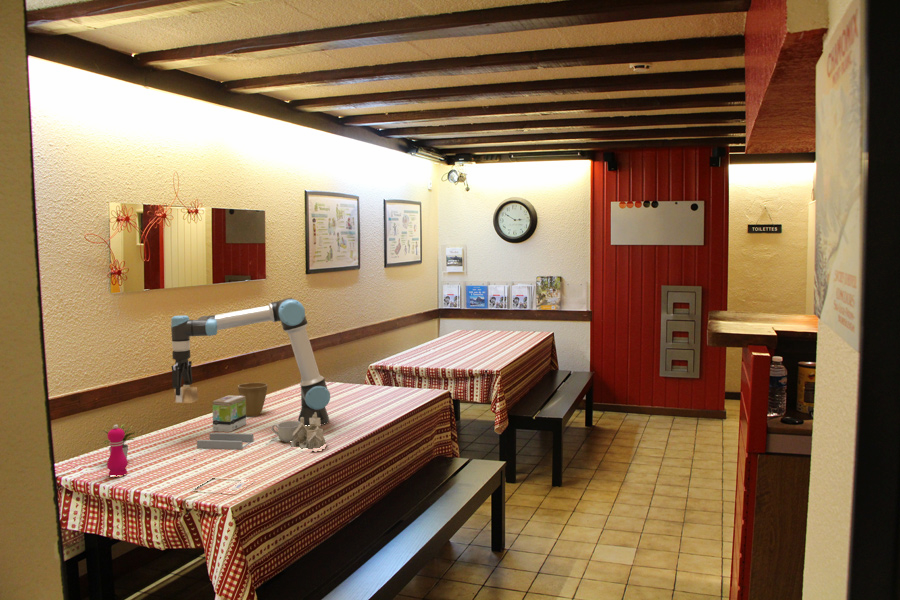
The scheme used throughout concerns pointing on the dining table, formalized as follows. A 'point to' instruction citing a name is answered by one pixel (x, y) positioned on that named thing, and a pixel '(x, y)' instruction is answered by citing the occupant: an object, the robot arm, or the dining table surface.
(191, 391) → the wood block
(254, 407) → the plant pot
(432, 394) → the dining table surface
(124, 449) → the house plant
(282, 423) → the teacup
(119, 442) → the pepper mill
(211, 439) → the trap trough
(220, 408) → the tea box
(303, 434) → the ceramic cottage
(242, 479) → the clear plastic bag
